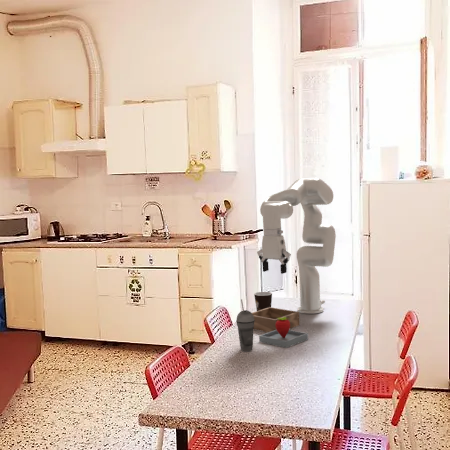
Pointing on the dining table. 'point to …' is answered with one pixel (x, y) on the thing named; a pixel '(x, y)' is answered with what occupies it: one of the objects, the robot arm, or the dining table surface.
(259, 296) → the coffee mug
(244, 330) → the beverage cup
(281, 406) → the dining table surface
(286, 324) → the strawberry
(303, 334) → the slate tray
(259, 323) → the walnut bin
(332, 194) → the robot arm
